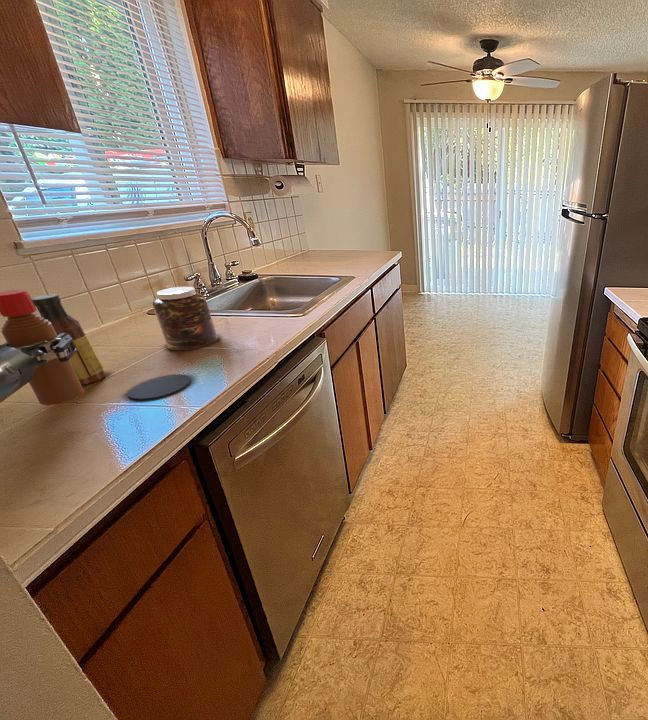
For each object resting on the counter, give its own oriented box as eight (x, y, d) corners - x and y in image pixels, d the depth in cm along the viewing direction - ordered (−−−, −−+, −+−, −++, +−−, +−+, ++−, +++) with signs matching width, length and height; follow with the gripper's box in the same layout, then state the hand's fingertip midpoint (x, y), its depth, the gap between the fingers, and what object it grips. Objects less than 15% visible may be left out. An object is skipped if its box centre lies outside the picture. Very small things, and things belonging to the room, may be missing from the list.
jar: (217, 332, 119) (201, 282, 112) (218, 344, 110) (202, 291, 103) (168, 341, 113) (149, 289, 107) (166, 354, 104) (145, 298, 98)
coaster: (115, 400, 82) (113, 398, 82) (157, 376, 92) (156, 374, 92) (165, 401, 82) (164, 399, 81) (202, 377, 92) (201, 375, 91)
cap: (-5, 317, 66) (-17, 295, 65) (22, 309, 70) (11, 289, 68) (17, 317, 66) (6, 295, 64) (43, 309, 70) (33, 289, 68)
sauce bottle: (102, 371, 95) (64, 290, 87) (110, 378, 92) (72, 294, 83) (65, 382, 90) (22, 297, 82) (72, 390, 87) (28, 301, 78)
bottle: (30, 405, 72) (-28, 300, 64) (64, 389, 78) (14, 291, 70) (61, 405, 72) (6, 300, 64) (92, 389, 77) (46, 291, 69)
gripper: (-71, 411, 57) (1, 366, 71) (58, 390, 62) (101, 352, 77) (-104, 363, 54) (-21, 326, 68) (35, 346, 59) (85, 315, 73)
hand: (43, 340), depth 72 cm, fingers closed on bottle, 6 cm apart
